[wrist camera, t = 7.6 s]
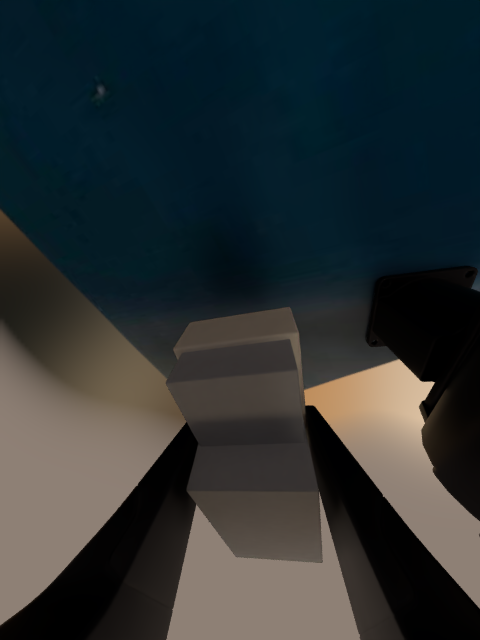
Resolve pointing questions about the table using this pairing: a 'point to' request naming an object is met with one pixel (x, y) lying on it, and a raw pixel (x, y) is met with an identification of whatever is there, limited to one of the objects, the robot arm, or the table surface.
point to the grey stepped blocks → (250, 433)
